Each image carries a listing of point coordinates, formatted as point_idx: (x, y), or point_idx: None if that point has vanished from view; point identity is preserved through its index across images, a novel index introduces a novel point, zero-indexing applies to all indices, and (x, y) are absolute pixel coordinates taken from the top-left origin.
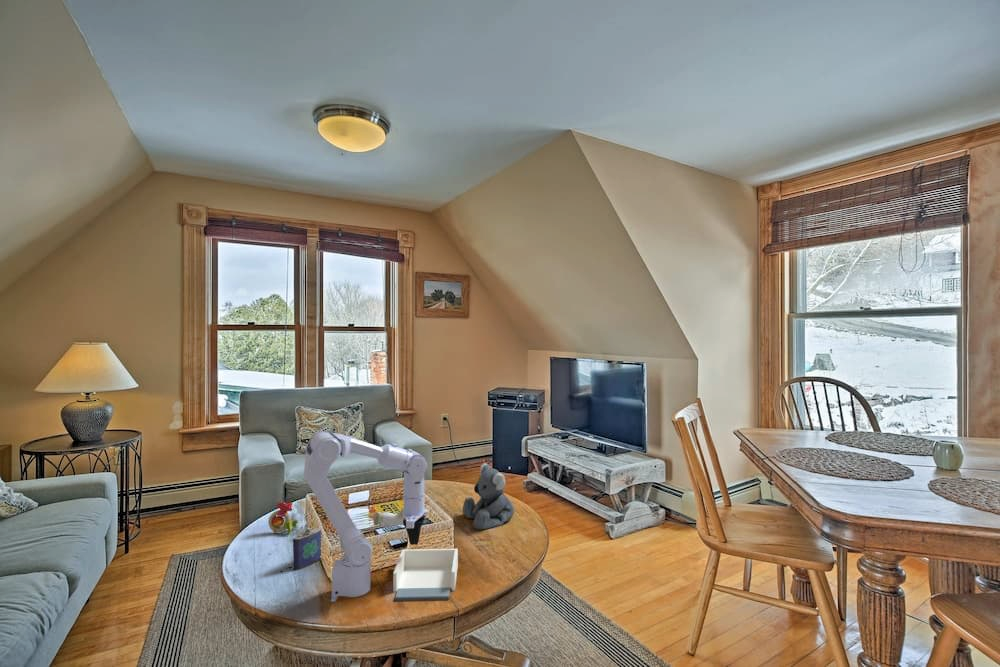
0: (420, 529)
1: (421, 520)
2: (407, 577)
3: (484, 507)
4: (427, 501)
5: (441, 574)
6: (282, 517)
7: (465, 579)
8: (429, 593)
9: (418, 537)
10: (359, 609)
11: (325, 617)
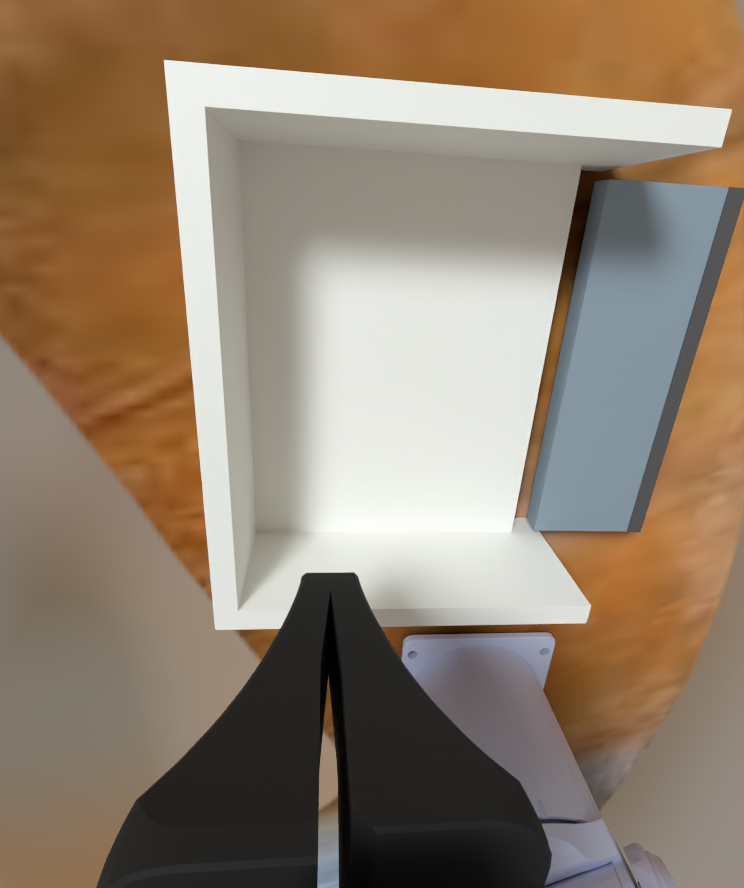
0: (301, 673)
1: (420, 859)
2: (390, 497)
3: None
4: None
5: (372, 264)
6: None
7: (396, 39)
8: (646, 338)
9: (377, 621)
10: (601, 645)
11: (619, 736)
